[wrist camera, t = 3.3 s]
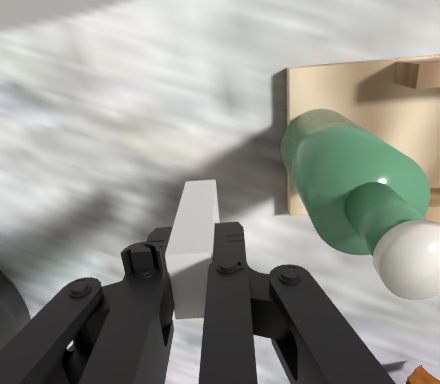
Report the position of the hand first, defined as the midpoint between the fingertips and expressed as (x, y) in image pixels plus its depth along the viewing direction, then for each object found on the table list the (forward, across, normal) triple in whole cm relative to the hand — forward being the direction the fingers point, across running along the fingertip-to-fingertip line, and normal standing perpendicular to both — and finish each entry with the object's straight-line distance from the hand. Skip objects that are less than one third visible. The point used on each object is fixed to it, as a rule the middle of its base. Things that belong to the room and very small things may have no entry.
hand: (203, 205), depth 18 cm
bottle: (+9, +8, 0) cm, 12 cm away
